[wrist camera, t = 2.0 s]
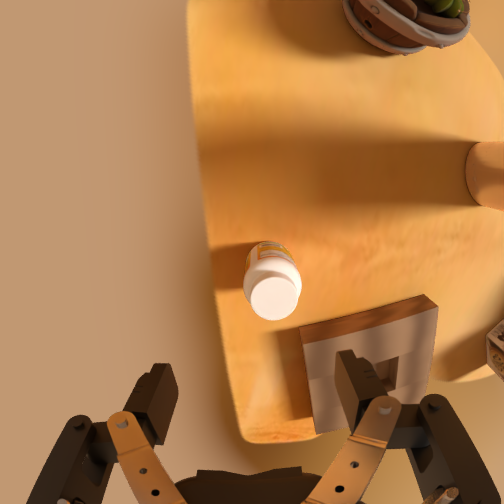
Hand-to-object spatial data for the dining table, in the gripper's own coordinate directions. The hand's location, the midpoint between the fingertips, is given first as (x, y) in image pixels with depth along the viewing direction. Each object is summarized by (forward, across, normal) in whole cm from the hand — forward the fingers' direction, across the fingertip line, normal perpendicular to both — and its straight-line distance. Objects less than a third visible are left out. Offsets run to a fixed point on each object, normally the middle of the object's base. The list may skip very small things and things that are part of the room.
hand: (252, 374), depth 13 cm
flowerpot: (+20, -19, -29) cm, 40 cm away
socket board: (+20, -15, +18) cm, 31 cm away
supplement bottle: (+21, -2, +1) cm, 21 cm away
